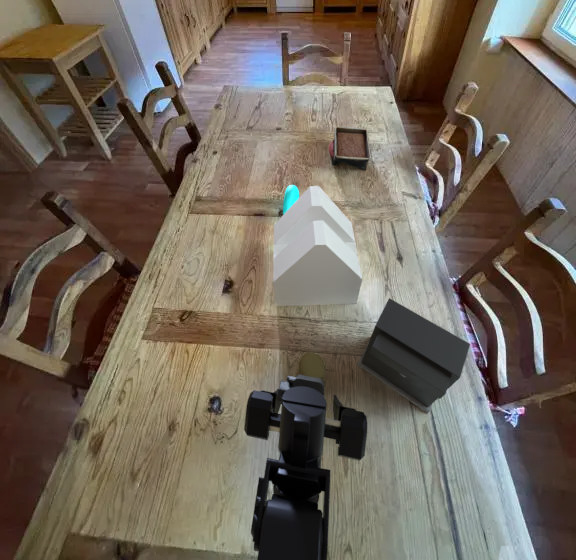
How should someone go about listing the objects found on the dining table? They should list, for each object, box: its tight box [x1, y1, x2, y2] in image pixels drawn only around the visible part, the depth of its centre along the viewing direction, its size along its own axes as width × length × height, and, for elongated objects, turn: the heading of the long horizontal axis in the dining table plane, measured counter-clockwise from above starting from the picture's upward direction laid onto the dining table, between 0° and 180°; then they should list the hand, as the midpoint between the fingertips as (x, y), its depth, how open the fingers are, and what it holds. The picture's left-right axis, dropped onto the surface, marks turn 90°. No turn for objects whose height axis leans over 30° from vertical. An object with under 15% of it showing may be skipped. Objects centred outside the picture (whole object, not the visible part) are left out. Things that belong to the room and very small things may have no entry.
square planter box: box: [328, 126, 373, 171], centre depth 116 cm, size 14×18×10 cm
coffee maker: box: [357, 297, 471, 414], centre depth 63 cm, size 10×15×20 cm, turn 55°
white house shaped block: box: [272, 185, 363, 307], centre depth 78 cm, size 19×15×25 cm
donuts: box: [282, 184, 300, 216], centre depth 98 cm, size 10×10×10 cm
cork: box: [297, 351, 327, 386], centre depth 66 cm, size 6×6×11 cm
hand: (309, 392), depth 62 cm, fingers open, 9 cm apart
